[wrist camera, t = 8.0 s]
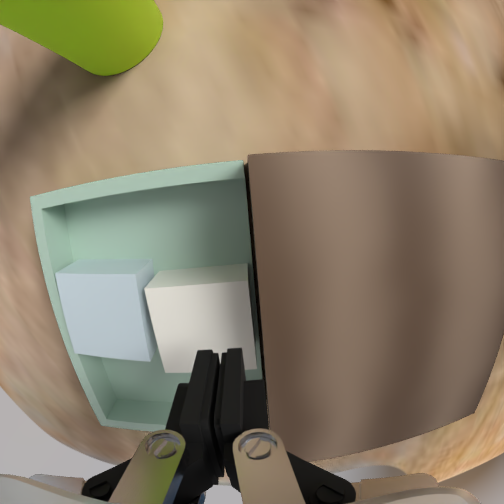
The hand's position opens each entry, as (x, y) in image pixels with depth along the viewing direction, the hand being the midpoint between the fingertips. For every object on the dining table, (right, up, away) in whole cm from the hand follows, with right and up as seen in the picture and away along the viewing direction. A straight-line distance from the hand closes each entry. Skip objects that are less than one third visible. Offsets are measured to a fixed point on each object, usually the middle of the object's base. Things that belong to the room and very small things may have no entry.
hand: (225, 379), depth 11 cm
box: (-5, +1, +7) cm, 8 cm away
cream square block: (-1, +2, +6) cm, 7 cm away
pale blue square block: (-7, +1, +3) cm, 8 cm away
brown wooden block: (+8, +2, +7) cm, 11 cm away
